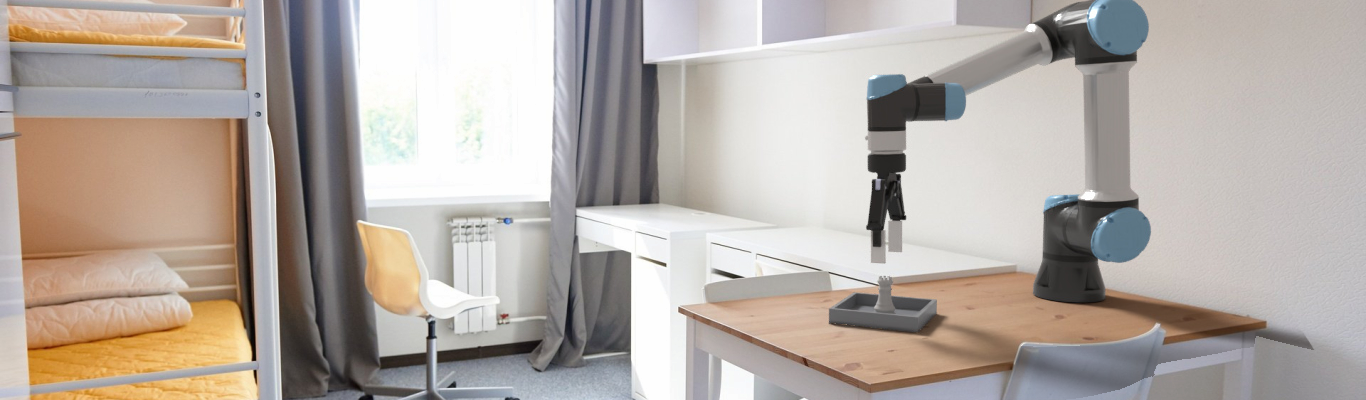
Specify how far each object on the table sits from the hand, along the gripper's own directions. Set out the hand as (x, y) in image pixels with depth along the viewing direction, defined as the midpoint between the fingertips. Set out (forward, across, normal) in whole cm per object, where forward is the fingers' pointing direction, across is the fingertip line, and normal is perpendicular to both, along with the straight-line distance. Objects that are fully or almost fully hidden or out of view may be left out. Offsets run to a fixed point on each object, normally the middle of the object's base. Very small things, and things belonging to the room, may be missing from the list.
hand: (887, 257), depth 190 cm
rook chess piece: (+12, 0, 0) cm, 12 cm away
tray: (+12, 0, -1) cm, 13 cm away
